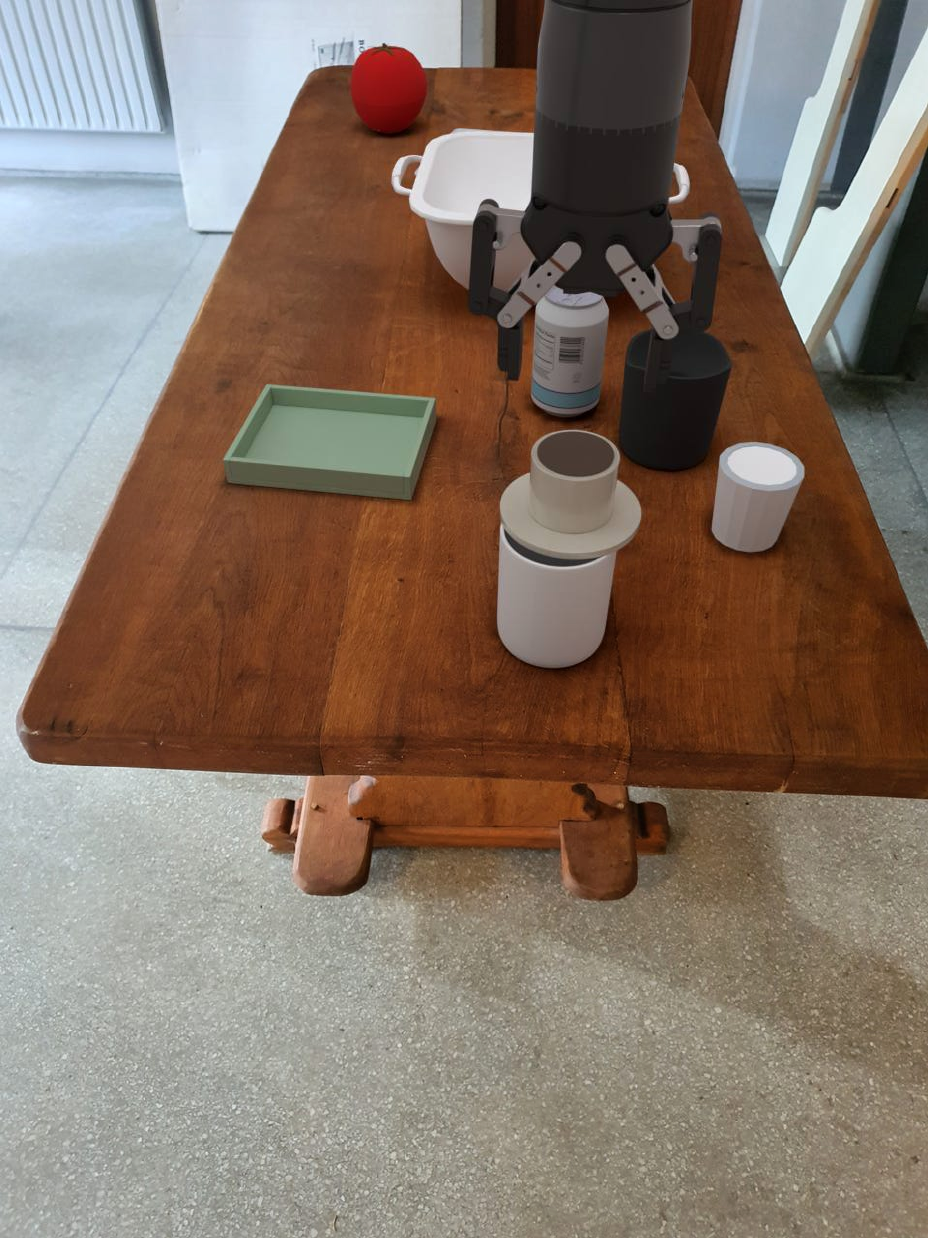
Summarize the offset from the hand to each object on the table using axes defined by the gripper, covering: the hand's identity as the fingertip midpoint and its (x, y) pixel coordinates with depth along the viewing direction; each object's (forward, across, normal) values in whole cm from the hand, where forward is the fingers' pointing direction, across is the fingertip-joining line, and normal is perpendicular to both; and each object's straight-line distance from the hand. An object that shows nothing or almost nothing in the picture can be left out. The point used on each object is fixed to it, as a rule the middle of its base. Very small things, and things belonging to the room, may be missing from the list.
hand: (581, 380), depth 60 cm
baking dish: (+21, -8, +60) cm, 64 cm away
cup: (+21, 0, 0) cm, 21 cm away
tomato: (+21, -37, +111) cm, 119 cm away
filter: (+11, 0, 0) cm, 11 cm away
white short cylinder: (+21, +15, +13) cm, 29 cm away
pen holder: (+21, +8, +25) cm, 34 cm away
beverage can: (+21, -2, +31) cm, 38 cm away
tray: (+21, -23, +20) cm, 37 cm away
